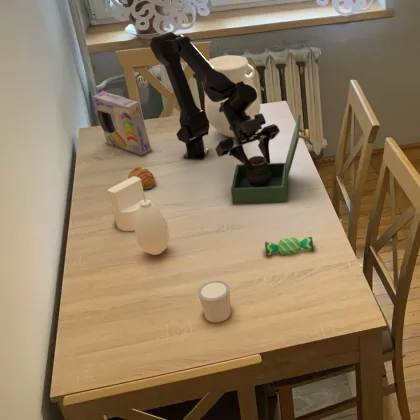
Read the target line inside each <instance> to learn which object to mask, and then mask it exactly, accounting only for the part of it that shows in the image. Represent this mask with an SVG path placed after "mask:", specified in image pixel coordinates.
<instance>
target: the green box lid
mask: <svg viewBox="0 0 420 420" xmlns="http://www.w3.org/2000/svg"><path fill="white" fill-rule="evenodd" d="M301 117H302V116H301V115H300V114H298V115H297V119H296V122H295V126H294V128H293V133H292V136H291V141H290V144H289V147H288V151H287V155H286V158H285V162H284V163H285V173H284V182H283V186H286V183H287V179H288V180H289V176H290V172H291V168H292V165H293V161H294V158H295V155H296V151H297V148H298V144H299V140H300V139H302V140H304V141H305V142H309V141H310V140H311V130H310V129H309V128H306V129H304V128H301ZM300 133H303V134H304V135H302V134H300Z"/></svg>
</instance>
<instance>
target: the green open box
mask: <svg viewBox="0 0 420 420" xmlns="http://www.w3.org/2000/svg"><path fill="white" fill-rule="evenodd" d="M285 163H286V162H270V163H269V164H268V163H267V164H268V166H269V168H270V170H271V173H272V176H271V180H270V182H269V184H267V185H266V186H264V187H254V186H252V185H250V184H249V182H248V180H247V175H246V173H247V169H248V168H247V167H246V166H245V165H244V164H243V163H241V164H236V166H235V169H234V170H235V171H234V175H233V178H232V183H231V186H230V195H231V201H232V205H251V204H255V205H256V204H276V203H277V204H278V203H286V202H287V194H288V182H289V178H288V179H287V183H286V186H283V182H284V173H285Z"/></svg>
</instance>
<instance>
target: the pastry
mask: <svg viewBox="0 0 420 420" xmlns="http://www.w3.org/2000/svg"><path fill="white" fill-rule="evenodd" d="M133 176H135V177H138V178H140V179H141V182H142V186H143V190H148V189H150V188H153V187H154V186H155V184H156V182H157V181H156V178H155V177H154V174H153V173H152V172H151V171H150V170H149V169H148V168H143V167H141V166H138V167H134V168H133V169H132V170H130V171H129V173H128V176H127V179H129V178H131V177H133Z"/></svg>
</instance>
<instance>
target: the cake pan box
mask: <svg viewBox="0 0 420 420" xmlns="http://www.w3.org/2000/svg"><path fill="white" fill-rule="evenodd" d="M92 98H93V102H94V105H95V109H96V113H97V119H98V122H99V124H100V127H101V129H102V130H103V134H104V138H105V142H106V144H108V145H110V146H111V145H112V146H115V147H117V148H120V149H122V150H125V151H128V152H131V153H134V154H137V155H140V156H142V155H145V154H147V153H149V152H151V151H152V147H151V142H150V139H149V135H148V131H147V128H146V124H145V120H144V116H143V113H142V110H141V109H142V108H141V105H140V102H139V101H135V100H132V99H129V98H126V97H125V96H121V95H118V94H113V93H110V92H107V91H104V90H103V91H100V92H99V93H97V94H96V95H93V96H92Z"/></svg>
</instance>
